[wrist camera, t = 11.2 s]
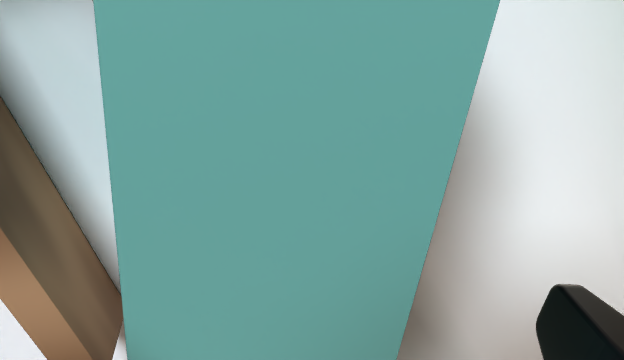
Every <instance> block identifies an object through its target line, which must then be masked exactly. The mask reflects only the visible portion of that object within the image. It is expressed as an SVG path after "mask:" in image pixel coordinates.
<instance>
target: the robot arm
mask: <svg viewBox="0 0 624 360" xmlns="http://www.w3.org/2000/svg"><path fill="white" fill-rule="evenodd" d="M536 333H537V337H538V341H539V345H540V348H541V352H542V356H543V359H544V360H624V316H623V315H622V314H621V313H619V312H618V311H616V310H615V309H614V308H612V307H611V306H609V305H608V304H607V303H605V302H604V301H602V300H601V299H600V298H598V297H597V296H595V295H594V294H593V293H591V292H590V291H588V290H587V289H585V288H584V287H582V286H580V285H572V284H557V285H555V286H553V287H552V288H551V290H550V292H549V294H548V296H547V298H546V300H545V302H544V305H543V307H542V309H541V311H540V313H539V315H538V318H537V322H536Z"/></svg>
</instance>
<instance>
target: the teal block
mask: <svg viewBox="0 0 624 360" xmlns="http://www.w3.org/2000/svg"><path fill="white" fill-rule="evenodd" d="M93 2H94V12H95V23H96V33H97V44H98V54H99V65H100V75H101V86H102V96H103V107H104V117H105V128H106V138H107V149H108V159H109V170H110V180H111V191H112V202H113V212H114V223H115V233H116V244H117V254H118V265H119V275H120V286H121V296H122V307H123V317H124V328H125V338H126V349H127V359H128V360H396V359H397V355H398V352H399V348H400V345H401V341H402V338H403V334H404V331H405V328H406V324H407V321H408V317H409V314H410V310H411V307H412V303H413V300H414V296H415V293H416V290H417V286H418V283H419V279H420V276H421V272H422V269H423V265H424V262H425V258H426V255H427V252H428V248H429V245H430V241H431V238H432V234H433V231H434V227H435V224H436V220H437V217H438V214H439V210H440V207H441V203H442V200H443V196H444V193H445V189H446V186H447V182H448V179H449V176H450V172H451V169H452V165H453V162H454V158H455V155H456V151H457V148H458V144H459V141H460V138H461V134H462V131H463V127H464V124H465V120H466V117H467V113H468V110H469V106H470V103H471V100H472V96H473V93H474V89H475V86H476V82H477V79H478V75H479V72H480V68H481V65H482V62H483V58H484V55H485V51H486V48H487V44H488V41H489V37H490V34H491V30H492V27H493V24H494V20H495V17H496V13H497V10H498V6H499V3H500V0H93Z"/></svg>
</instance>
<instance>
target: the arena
mask: <svg viewBox="0 0 624 360" xmlns="http://www.w3.org/2000/svg"><path fill="white" fill-rule="evenodd" d="M92 1H93V0H92ZM93 3H94V2H93ZM0 299H1V300H2V302H3V303H4V304H5V305H6V307H7V308H8V309H9V311H10V312H11V313H12V314H13V316H14V317H15V318H16V320H17V321H18V322H19V323H20V325H21V326H22V327H23V329H24V330H25V331H26V333H27V334H28V335H29V336H30V338H31V339H32V340H33V342H34V343H35V344H36V345H37V347H38V348H39V349H40V351H41V352H42V353H43V354H44V356H45V357H46V358H47V360H112V358H113V354H114V351H115V347H116V343H117V340H118V336H119V332H120V328H121V325H122V321H123V307H122V297H121V296H120V294H119V292H118V291H117V289H116V287H115V286H114V284H113V282H112V281H111V279H110V277H109V276H108V274H107V272H106V271H105V269H104V267H103V266H102V264H101V262H100V261H99V259H98V257H97V256H96V254H95V253H94V251H93V249H92V248H91V246H90V244H89V243H88V241H87V239H86V238H85V236H84V234H83V233H82V231H81V229H80V228H79V226H78V224H77V223H76V221H75V219H74V218H73V216H72V214H71V213H70V211H69V209H68V208H67V206H66V204H65V203H64V201H63V199H62V198H61V196H60V194H59V193H58V191H57V189H56V188H55V186H54V185H53V183H52V181H51V180H50V178H49V176H48V175H47V173H46V171H45V170H44V168H43V166H42V165H41V163H40V161H39V160H38V158H37V156H36V155H35V153H34V151H33V150H32V148H31V146H30V145H29V143H28V141H27V140H26V138H25V136H24V135H23V133H22V131H21V130H20V128H19V126H18V125H17V123H16V121H15V120H14V118H13V117H12V115H11V113H10V112H9V110H8V108H7V107H6V105H5V103H4V102H3V100H2V98H1V97H0Z"/></svg>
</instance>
